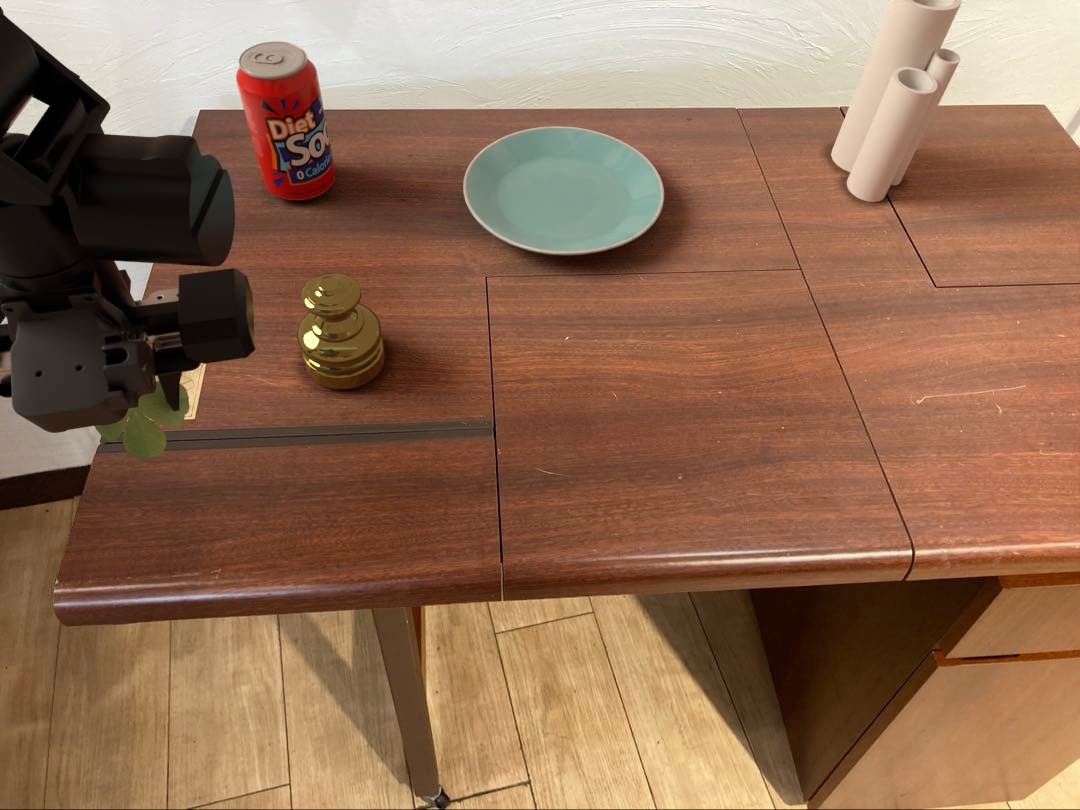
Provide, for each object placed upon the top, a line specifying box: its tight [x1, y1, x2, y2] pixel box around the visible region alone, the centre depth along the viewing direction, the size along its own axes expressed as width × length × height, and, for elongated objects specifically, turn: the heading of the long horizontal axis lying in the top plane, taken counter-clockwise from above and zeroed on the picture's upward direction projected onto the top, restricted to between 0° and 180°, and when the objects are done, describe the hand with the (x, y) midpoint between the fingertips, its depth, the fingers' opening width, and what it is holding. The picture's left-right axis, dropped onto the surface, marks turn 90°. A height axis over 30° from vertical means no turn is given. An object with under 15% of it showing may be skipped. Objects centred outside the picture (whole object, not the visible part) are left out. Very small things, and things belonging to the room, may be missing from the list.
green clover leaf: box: [93, 380, 190, 460], centre depth 56 cm, size 7×8×6 cm
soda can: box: [235, 41, 336, 201], centre depth 85 cm, size 8×8×15 cm
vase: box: [830, 0, 962, 203], centre depth 90 cm, size 11×7×20 cm, turn 8°
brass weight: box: [296, 272, 386, 390], centre depth 72 cm, size 7×7×10 cm
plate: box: [462, 125, 665, 256], centre depth 90 cm, size 22×22×3 cm
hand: (140, 411), depth 57 cm, fingers closed on green clover leaf, 4 cm apart
